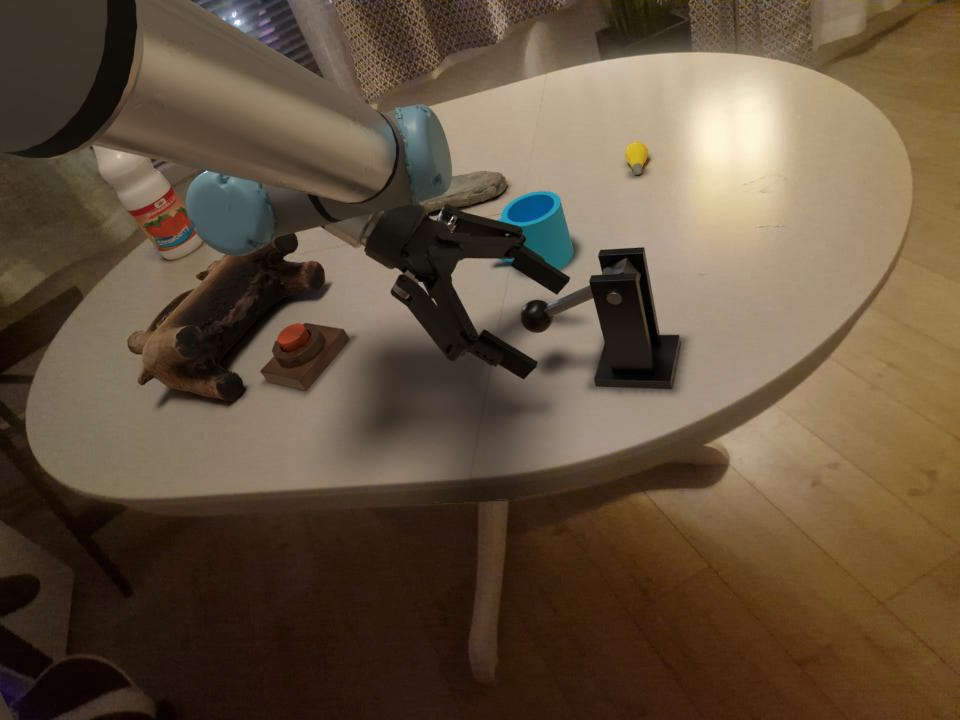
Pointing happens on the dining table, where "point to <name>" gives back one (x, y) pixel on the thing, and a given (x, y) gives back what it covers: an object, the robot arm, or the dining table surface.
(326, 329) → the button block
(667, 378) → the bracket
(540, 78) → the dining table surface
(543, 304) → the lever
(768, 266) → the dining table surface
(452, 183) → the long grey stone
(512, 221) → the mug
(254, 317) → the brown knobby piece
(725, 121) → the dining table surface
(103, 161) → the fruit juice
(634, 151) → the light bulb
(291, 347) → the button
